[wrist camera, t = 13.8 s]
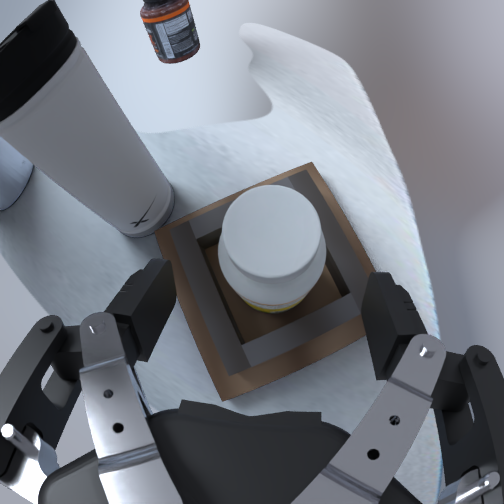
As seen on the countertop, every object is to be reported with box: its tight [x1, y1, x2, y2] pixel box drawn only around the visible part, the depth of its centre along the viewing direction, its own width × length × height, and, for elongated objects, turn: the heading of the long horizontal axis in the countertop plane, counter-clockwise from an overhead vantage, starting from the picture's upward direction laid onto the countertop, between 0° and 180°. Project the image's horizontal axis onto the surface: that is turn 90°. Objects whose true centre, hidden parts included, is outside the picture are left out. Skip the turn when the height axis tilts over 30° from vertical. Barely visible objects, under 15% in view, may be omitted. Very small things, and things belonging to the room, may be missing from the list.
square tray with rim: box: [154, 162, 376, 402], centre depth 20 cm, size 14×14×4 cm
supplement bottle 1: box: [140, 0, 200, 64], centre depth 26 cm, size 6×6×11 cm
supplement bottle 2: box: [218, 185, 326, 314], centre depth 16 cm, size 5×5×10 cm
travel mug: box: [0, 0, 174, 237], centre depth 15 cm, size 6×7×20 cm
